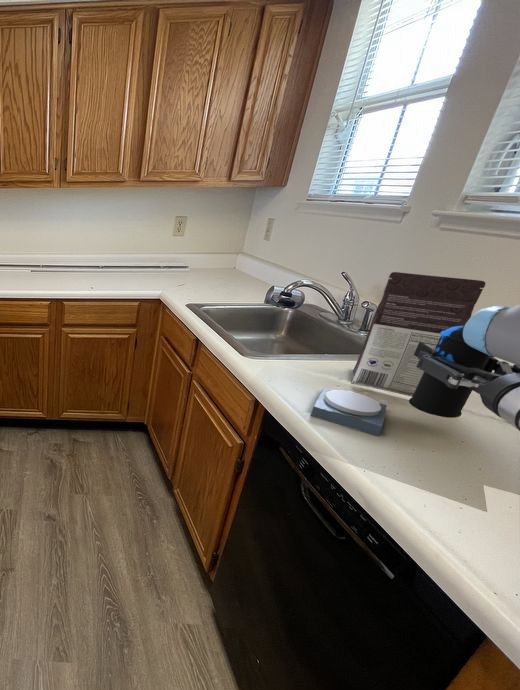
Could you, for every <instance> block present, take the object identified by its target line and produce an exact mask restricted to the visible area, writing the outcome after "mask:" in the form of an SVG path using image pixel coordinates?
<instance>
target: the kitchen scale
mask: <svg viewBox="0 0 520 690" xmlns="http://www.w3.org/2000/svg"><path fill="white" fill-rule="evenodd" d="M387 408H388V404H385V403H381V402H378V401H376V400H375V399H373V398H371V397H369V396H367V395H364V394H361V393H358V392H355V391H350V390H345V389H329V388H325V387H323V388H322V389H321V392H320V394H319V396H318V398H317V399H316V401H315V402H314V405H313V407H312V410H311V413H310V416H311V417H313V418H318V419H320V420H324V421H326V422H330V423H333V424H336V425H339V426H343V427H347V428H350V429H353V430H356V431H358V432H363V433H366V434H369V435H372V436H375V437H379V436H380V433H381V431H382V429H383V427H384V421H385V417H386V412H387Z"/></svg>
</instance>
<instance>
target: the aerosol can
mask: <svg viewBox="0 0 520 690" xmlns="http://www.w3.org/2000/svg"><path fill="white" fill-rule="evenodd" d="M463 329H464V326H455V327H451V328H449V329H447V330H444V331H442V332H441V333H440V334H441V337H440V339H439V341H438V343H437V345H436V347H435V351H436V352H439V354H441V356H440V357H442V358H444V359H447V360H449V361H452V362H455V363H457V364H460V365H462V366H465V367H468V368H478V369H481V370H484V368H485V366H486V364H487V362H488V360H489V358H490V357H491V356H489V355H487V354H485V353H483V352H481V351H479V350H477V349H475V348H473V347H471V346H469V345H468V344H467V343H466V342H465V341H464V338H463ZM476 374H477V373H476ZM476 374H475V375H476ZM472 392H473V390H471V389H469V388H468V387H466V386H461V385H459V386H458V387H457V389H452V388H449V387H448V386H447V385H446V384H445V383H444V382H442V381H440V380H438V379H437V378H435V377H433V376H431V375H430V374H428V373H426V372H424V373H423V375H422V377H421V379H420V381H419V384H418V386H417V388H416V390H415V392H414V394H412V396H411V397H410V398H409V399H408V403H409V404H410V405H411V406H412V407H413V408H415V409H416V410H419V411H421V412H423V413H426V414H429V415H432V416H436V417H441V418H448V419H454V418H459V417H461V416H462V411H463V409H464V407H465V405H466V404H467V401H468V399H469V397H470V396H471V394H472Z"/></svg>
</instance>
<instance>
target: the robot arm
mask: <svg viewBox="0 0 520 690" xmlns="http://www.w3.org/2000/svg"><path fill="white" fill-rule="evenodd" d="M463 338H464V341H465V342H466V343H467V344H468V345H469V346H471V347H473V348H475V349H477V350H479V351H481V352H483V353H485V354H487V355H489V356H491V357H490V358H489V360H488V362H487V364H486V366H485V368H484V370H481V369H478V368H468V367H465V366H462V365H460V364H457V363H455V362H452V361H449V360H447V359H444V358H442V357H440V356H441V354H439V352H436V351H435V350H433V349H432V348H430V347H428V346H427V345H425V344H424V343H419V344H418V346H417V348H416V350H415V353H414V355H415V356H416V357H418V359H419V362H418V364H417V366H416V367H417V368H419V369H421V370H423V371H424V372H426V373H428V374H430V375H431V376H433V377H435V378H437V379H438V380H440V381H442V382H444V383H445V384H446V385H447V386H448V387H449V388H452V389H457V387H458V386H459V385H461V386H466V387H468V388H469V389H471V390H472V392H475V393H476V394H478V395H479V397H480V399H481V402H482V405H483V406H484V407H485V408H486V409H488V410H489V411H490V412H492V413H493V414H495V416H498V417H499V418H501V419H502V420H504V421H505V422H506V423H508V424H509V425H510V426H512V427H513V428H514V429H516V430H517V431H519V432H520V302H519V303H518V304H516V305H515V306H513V307H510V306H502V305H492V306H489V307H485V308H482V309H480V310H478V311H476V312H475V313H474V314H472V315H471V318H470V319H469V320H468V321H467V323H466V324H465V326H464V329H463ZM499 359H500V360H502V361H500V360H499ZM510 363H511V364H512V365H511V364H510ZM476 373H477V374H476ZM475 374H476V375H475Z"/></svg>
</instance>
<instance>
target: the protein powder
mask: <svg viewBox="0 0 520 690" xmlns="http://www.w3.org/2000/svg"><path fill="white" fill-rule="evenodd" d="M485 287H486V282H485V281H484V280H479V279H470V278H469V279H468V278H461V277H460V278H459V277H449V276H438V275H429V274H428V275H427V274H417V273H408V272H399V271H392V272H391V273H390V274H389V276H388V279H387V283H386V285H385V288H384V292H383V295H382V298H381V300H380V302H379V304H378V305H377V307H376V310H375V311H374V315H373V317H372V320H371V322H370V326H369V329H368V331H367V334H366V337H365V340H364V343H363V346H362V349H361V351H360V353H359V356H358V359H357V361H356V363H355V365H354V368H353V369H352V374H353V377H352V380H350V384H351V385H352V384H353V385H358V386H363V387H369V388H374V389H377V390H383V391H387V392H392V393H396V394H399V395H400V394H401V395H404V396H410V397H412V396H413V394H414V392H415V390H416V388H417V386H418V384H419V381H420V379H421V377H422V375H423V373H424V371H423V370H421V369H419V368H417V367H416V366H417V364H418V362H419V359H418V357H416V356H415V355H414V353H415V350H416V348H417V346H418V344H419V343H424V344H425V345H427V346H428V347H430V348H432V349H433V350H435V347H436V345H437V343H438V341H439V339H440V337H441V334H440V333H441V332H442V331H444V330H447V329H449V328H451V327H455V326H465V324H466V323H467V321H468V320H469V319H470V318H471V317H472V315H473V311H474V308H475V305H476V304H477V302H478V300H479V299H480V296H481V294H482V292H483V289H484V288H485Z"/></svg>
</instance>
